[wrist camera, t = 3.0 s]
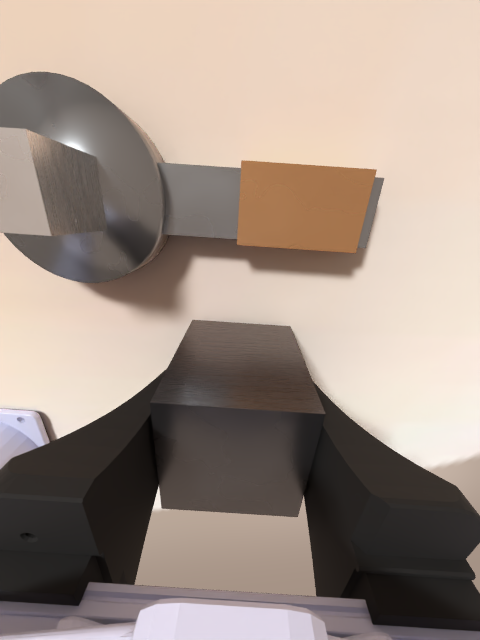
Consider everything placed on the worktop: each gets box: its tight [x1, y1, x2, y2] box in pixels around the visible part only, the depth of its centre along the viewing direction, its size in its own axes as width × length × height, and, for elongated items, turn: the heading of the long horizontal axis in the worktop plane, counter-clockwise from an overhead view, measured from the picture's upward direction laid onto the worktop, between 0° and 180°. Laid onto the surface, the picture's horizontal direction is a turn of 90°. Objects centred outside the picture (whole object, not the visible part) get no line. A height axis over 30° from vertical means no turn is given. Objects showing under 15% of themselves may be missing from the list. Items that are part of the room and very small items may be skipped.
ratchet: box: [0, 72, 384, 283], centre depth 9 cm, size 16×7×5 cm, turn 86°
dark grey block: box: [150, 320, 326, 517], centre depth 11 cm, size 5×5×6 cm
